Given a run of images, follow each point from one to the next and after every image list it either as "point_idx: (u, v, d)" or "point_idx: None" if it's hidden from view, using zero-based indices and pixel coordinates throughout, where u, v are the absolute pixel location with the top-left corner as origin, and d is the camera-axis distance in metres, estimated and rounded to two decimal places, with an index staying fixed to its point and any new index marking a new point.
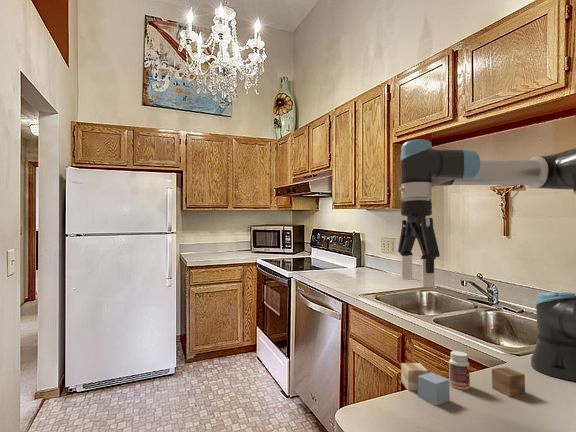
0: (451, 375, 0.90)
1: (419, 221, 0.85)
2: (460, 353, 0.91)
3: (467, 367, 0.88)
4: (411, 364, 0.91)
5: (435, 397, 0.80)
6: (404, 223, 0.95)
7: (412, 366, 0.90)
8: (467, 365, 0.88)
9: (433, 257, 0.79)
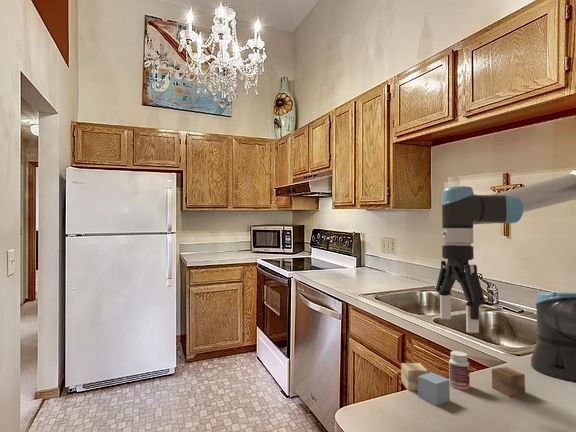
0: (451, 375, 0.90)
1: (462, 266, 0.88)
2: (460, 353, 0.91)
3: (467, 367, 0.88)
4: (411, 364, 0.91)
5: (435, 397, 0.80)
6: (443, 264, 0.97)
7: (412, 366, 0.90)
8: (467, 365, 0.88)
9: (478, 304, 0.82)
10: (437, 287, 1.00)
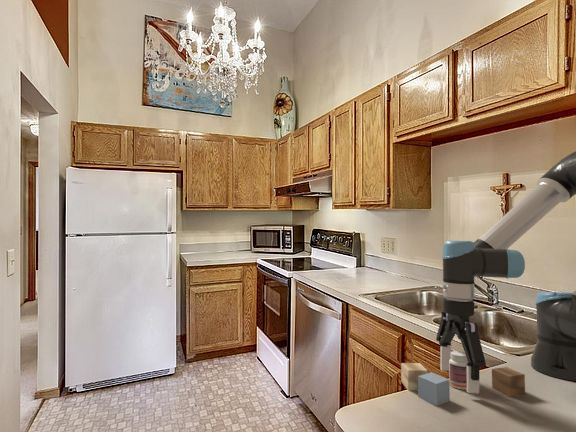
0: (451, 375, 0.90)
1: (463, 324, 0.87)
2: (460, 353, 0.91)
3: None
4: (411, 364, 0.91)
5: (435, 397, 0.80)
6: (444, 315, 0.97)
7: (411, 366, 0.90)
8: None
9: (479, 366, 0.81)
10: (437, 337, 1.00)
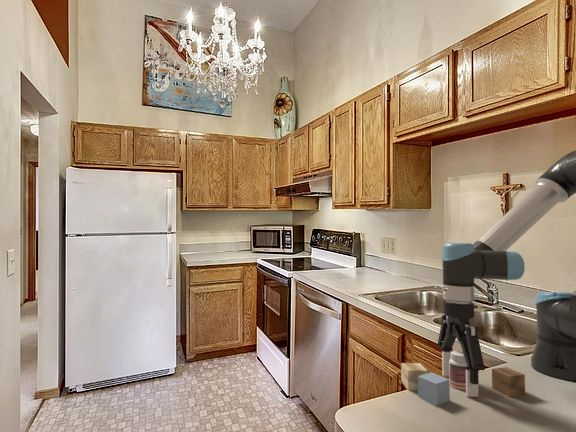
0: (451, 375, 0.90)
1: (463, 326, 0.87)
2: (460, 353, 0.91)
3: None
4: (411, 364, 0.91)
5: (435, 397, 0.80)
6: (444, 318, 0.97)
7: (411, 366, 0.90)
8: None
9: (478, 370, 0.82)
10: (439, 342, 0.99)
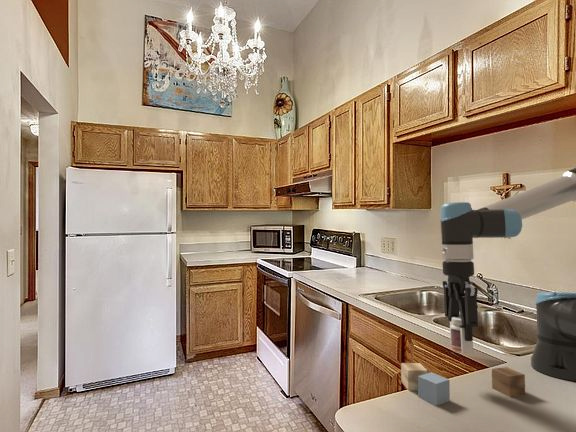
0: (452, 340, 0.90)
1: (463, 285, 0.88)
2: None
3: None
4: (411, 364, 0.91)
5: (435, 397, 0.80)
6: (445, 283, 0.97)
7: (411, 366, 0.90)
8: None
9: (472, 327, 0.86)
10: (445, 312, 0.96)
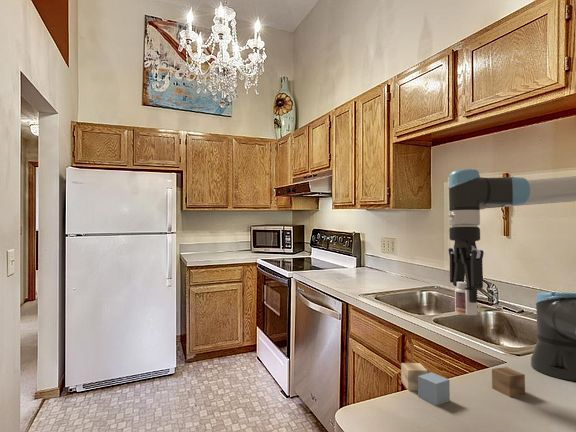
0: (457, 303, 0.93)
1: (469, 249, 0.90)
2: None
3: None
4: (411, 364, 0.91)
5: (435, 397, 0.80)
6: (451, 250, 0.99)
7: (411, 366, 0.90)
8: None
9: (477, 288, 0.88)
10: (451, 278, 0.99)
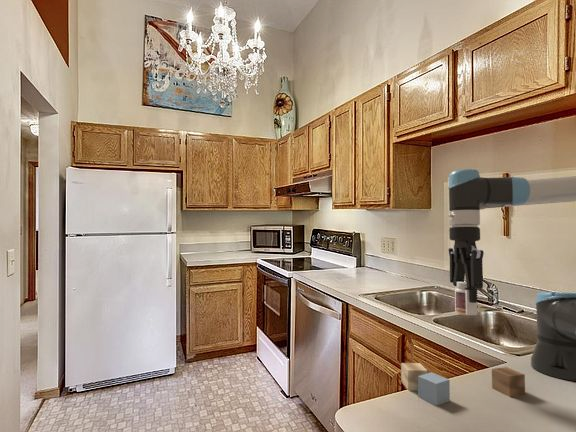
0: (457, 303, 0.93)
1: (469, 249, 0.90)
2: None
3: None
4: (411, 364, 0.91)
5: (435, 397, 0.80)
6: (451, 250, 0.99)
7: (411, 366, 0.90)
8: None
9: (477, 288, 0.88)
10: (451, 278, 0.99)
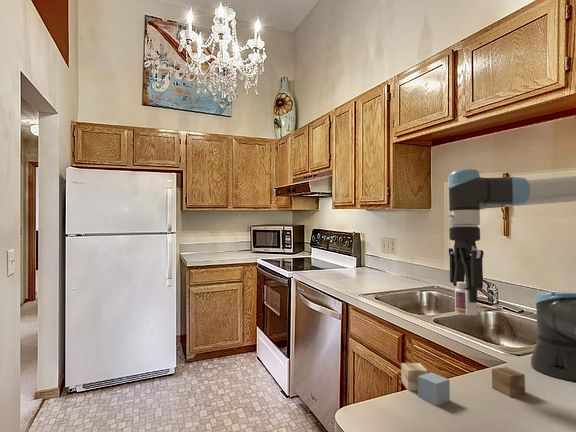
0: (457, 303, 0.93)
1: (469, 249, 0.90)
2: None
3: None
4: (411, 364, 0.91)
5: (435, 397, 0.80)
6: (451, 250, 0.99)
7: (411, 366, 0.90)
8: None
9: (477, 288, 0.88)
10: (451, 278, 0.99)
